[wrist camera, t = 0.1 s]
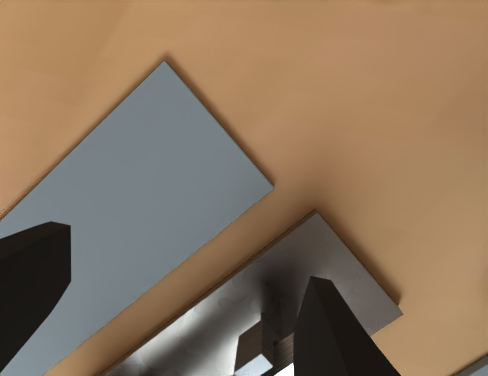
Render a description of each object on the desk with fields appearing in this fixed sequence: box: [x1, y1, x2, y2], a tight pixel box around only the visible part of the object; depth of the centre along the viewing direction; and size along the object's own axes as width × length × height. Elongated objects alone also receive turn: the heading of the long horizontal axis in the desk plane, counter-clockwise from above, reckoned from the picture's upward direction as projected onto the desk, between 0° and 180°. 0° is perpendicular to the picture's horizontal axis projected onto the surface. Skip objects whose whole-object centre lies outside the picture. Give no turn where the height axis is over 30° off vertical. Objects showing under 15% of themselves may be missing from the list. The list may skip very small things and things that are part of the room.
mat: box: [0, 61, 274, 376], centre depth 22 cm, size 24×9×1 cm, turn 131°
